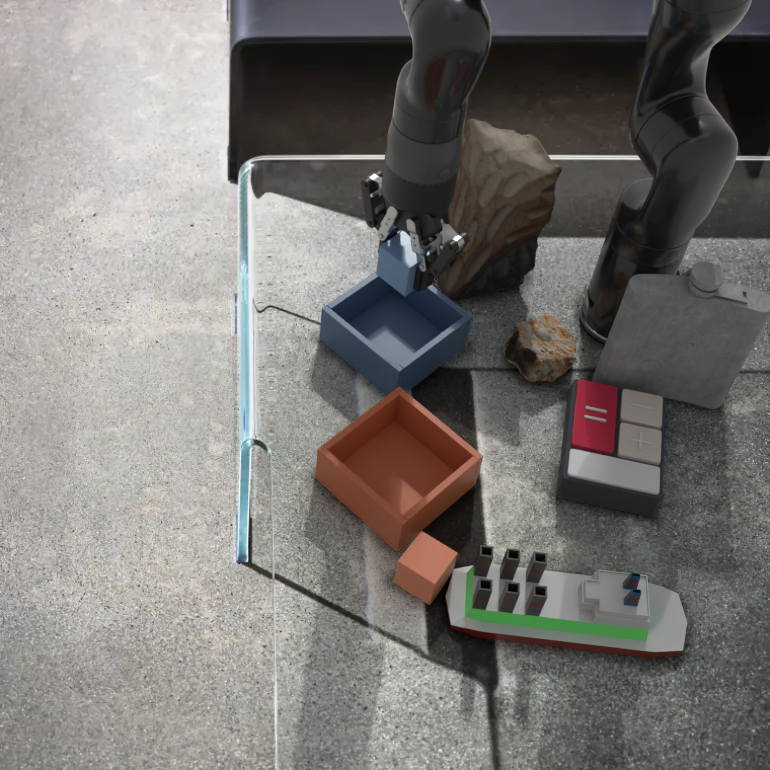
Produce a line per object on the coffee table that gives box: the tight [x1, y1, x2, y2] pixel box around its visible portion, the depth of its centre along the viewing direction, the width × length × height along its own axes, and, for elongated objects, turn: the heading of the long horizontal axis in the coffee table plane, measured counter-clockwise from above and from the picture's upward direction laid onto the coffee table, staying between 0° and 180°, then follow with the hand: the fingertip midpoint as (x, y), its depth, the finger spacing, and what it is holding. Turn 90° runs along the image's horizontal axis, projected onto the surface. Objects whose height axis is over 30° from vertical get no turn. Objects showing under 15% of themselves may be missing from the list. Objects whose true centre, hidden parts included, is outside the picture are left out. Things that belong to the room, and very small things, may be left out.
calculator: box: [555, 378, 667, 518], centre depth 131 cm, size 11×4×15 cm
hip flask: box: [591, 260, 770, 410], centre depth 131 cm, size 16×4×20 cm, turn 84°
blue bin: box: [318, 271, 474, 396], centre depth 137 cm, size 13×13×6 cm
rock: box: [503, 313, 578, 383], centre depth 139 cm, size 9×6×10 cm
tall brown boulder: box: [437, 118, 563, 303], centre depth 141 cm, size 13×13×20 cm
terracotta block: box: [393, 530, 459, 606], centre depth 119 cm, size 4×4×4 cm
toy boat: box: [444, 544, 688, 659], centre depth 116 cm, size 8×25×8 cm, turn 85°
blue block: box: [375, 230, 429, 296], centre depth 127 cm, size 4×4×4 cm
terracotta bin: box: [314, 387, 484, 553], centre depth 125 cm, size 13×13×6 cm
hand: (404, 273), depth 129 cm, fingers closed on blue block, 4 cm apart
